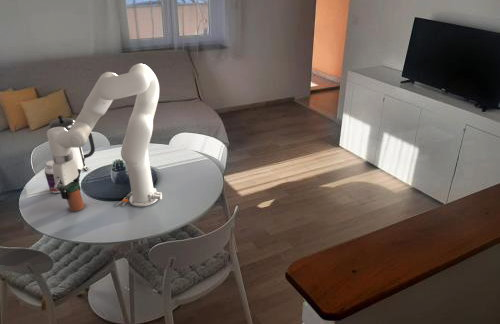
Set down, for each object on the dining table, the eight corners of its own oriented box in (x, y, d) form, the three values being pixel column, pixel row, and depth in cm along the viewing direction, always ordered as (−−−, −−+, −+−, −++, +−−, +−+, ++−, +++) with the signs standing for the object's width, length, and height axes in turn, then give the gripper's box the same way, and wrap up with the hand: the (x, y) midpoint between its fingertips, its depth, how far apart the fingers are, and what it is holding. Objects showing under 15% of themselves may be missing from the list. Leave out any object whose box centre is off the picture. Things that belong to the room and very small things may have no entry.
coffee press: (81, 178, 203) (67, 121, 189) (52, 176, 205) (36, 120, 192) (98, 162, 218) (86, 108, 204) (71, 161, 220) (57, 108, 207)
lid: (58, 192, 172) (57, 189, 171) (69, 184, 178) (68, 180, 177) (72, 193, 170) (71, 190, 169) (82, 185, 176) (81, 181, 175)
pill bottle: (62, 194, 189) (54, 167, 182) (46, 193, 190) (38, 166, 184) (72, 186, 196) (65, 159, 189) (57, 184, 197) (49, 158, 191)
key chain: (132, 191, 190) (132, 188, 189) (139, 193, 188) (139, 190, 188) (114, 206, 179) (114, 203, 178) (121, 207, 178) (121, 204, 177)
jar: (87, 204, 180) (80, 183, 175) (78, 211, 175) (72, 191, 170) (75, 203, 182) (68, 182, 177) (67, 210, 177) (59, 190, 172)
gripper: (68, 147, 176) (76, 183, 184) (40, 165, 161) (50, 203, 169) (83, 149, 174) (91, 185, 182) (56, 167, 159) (66, 206, 167)
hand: (71, 194), depth 175 cm, fingers closed on lid, 6 cm apart
